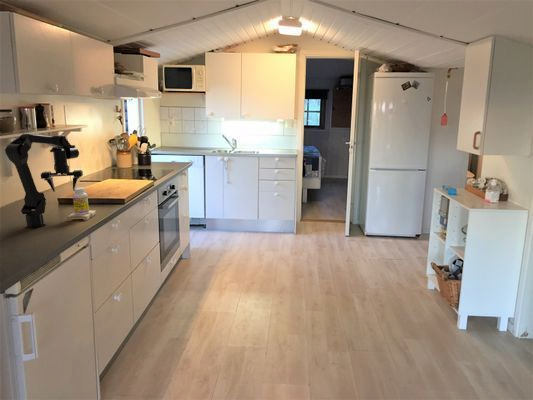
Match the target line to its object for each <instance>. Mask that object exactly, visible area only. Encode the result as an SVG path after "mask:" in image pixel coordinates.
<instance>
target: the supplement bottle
mask: <svg viewBox="0 0 533 400" xmlns="http://www.w3.org/2000/svg"><path fill="white" fill-rule="evenodd" d="M85 190H86V189H85V187H83V186H82V187H75V189H74V193H73V195H72V199H73V200H72V202H73V209H74V210H73V211H74V212H75V214H77V215H84V214H87V213H89V210H90V207H89V201H88V200H89V199H88V193H86V192H85Z"/></svg>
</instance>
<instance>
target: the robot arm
mask: <svg viewBox="0 0 533 400" xmlns="http://www.w3.org/2000/svg"><path fill="white" fill-rule="evenodd" d="M32 144H45V145H48V146H50V147H52V148H51V149H50V150H49V152H50V153H53V161H54V164H53V171H55V172H52V171H43V172H41V173H40V179H43V180H44V181H46V182H47V183H48V184H49V186H50V188H51V190H52V192H53V193H55V192H56V190H55V189H56V188H55V184H54V180H53V179H54V178H53V177H68V176H73V177H72V189H73V190H72V191H74V189H75V188H76V185H77V182H78V180H79V179H80V178H82V177H83V176H84V172H83V170H82V169H76V170H73V171H70V165H68V160H72V159H77V158H78V157H79V155H80V152H79V148H77V147H76V145H75V144H71V143H70V142H69V140H68V138H67V137H66V135H63V134H62V135H60V134H59V135H57V134H54V135H53V134H51V135H40V134H39V135H38V134H32V133H22V134H20V135H19V137H17V138H16V139H14V140H13V141H11V142H10V143H9V144H7V145H6V147H5V149H4V153H5V155H6V156H7V158H8V160H9V161H10V162H11V163H12V164H13V165H15V166H14V167H15V168H16V171H17V175H18V177H19V179H20V182H21V185H22V187H23V190H24V193H25V194H24V198H23V200H24V205H23V206H22V208H21V210H20V212H21V214H22V215H25V223H26V225H25V226H24V228H26V229H37V228H41V227H45V226H46V223H45V221H44V216H43V214H45V210H46V205H47V202H46V201H47V199H46V197H45V194H44V192H41V191H38V189H37V186H36V184H35V180H34V177H33V176H32V173H31V170H30V167H29V163H28V160H29V151H30V150H31V148H32ZM74 192H75V191H74Z"/></svg>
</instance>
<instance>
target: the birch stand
mask: <svg viewBox="0 0 533 400" xmlns="http://www.w3.org/2000/svg"><path fill="white" fill-rule="evenodd" d="M97 214H98V210H97V209H96V210H95V209H94V210H91V209H89V213H87V214H84V215H77V214H75V211H74V212H72V213H71V214H69V215H68V216H66V220H68V221H69V222H70V221H73V220H83V221H86V222H87V221H88V220H90V219H91V218H93V217H94V216H96V215H97Z"/></svg>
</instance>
